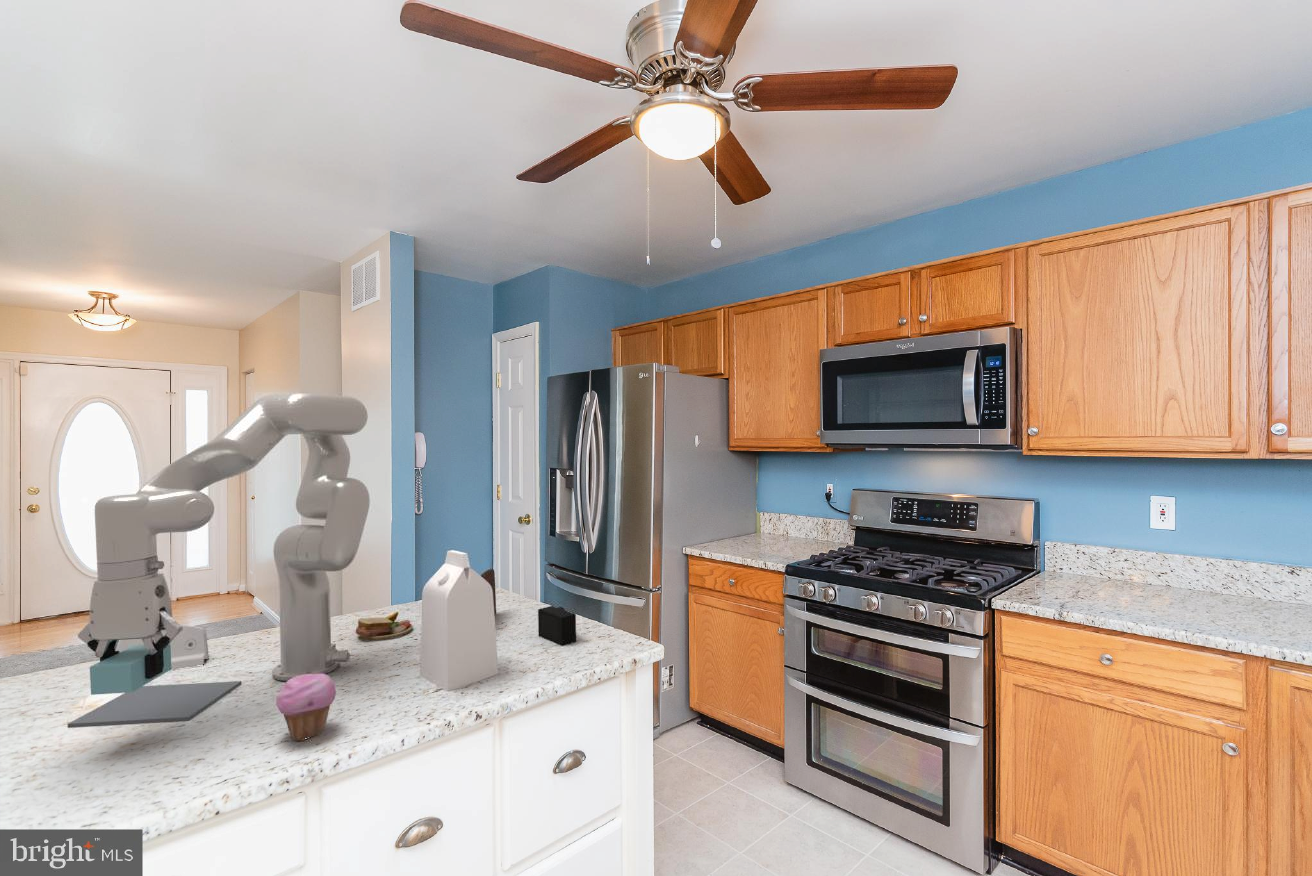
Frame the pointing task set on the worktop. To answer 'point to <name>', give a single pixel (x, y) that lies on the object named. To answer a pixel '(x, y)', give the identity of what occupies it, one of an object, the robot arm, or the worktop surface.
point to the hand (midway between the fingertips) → (132, 675)
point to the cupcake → (306, 704)
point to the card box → (124, 671)
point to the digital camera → (557, 625)
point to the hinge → (181, 647)
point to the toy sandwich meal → (382, 627)
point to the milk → (457, 626)
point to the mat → (157, 704)
